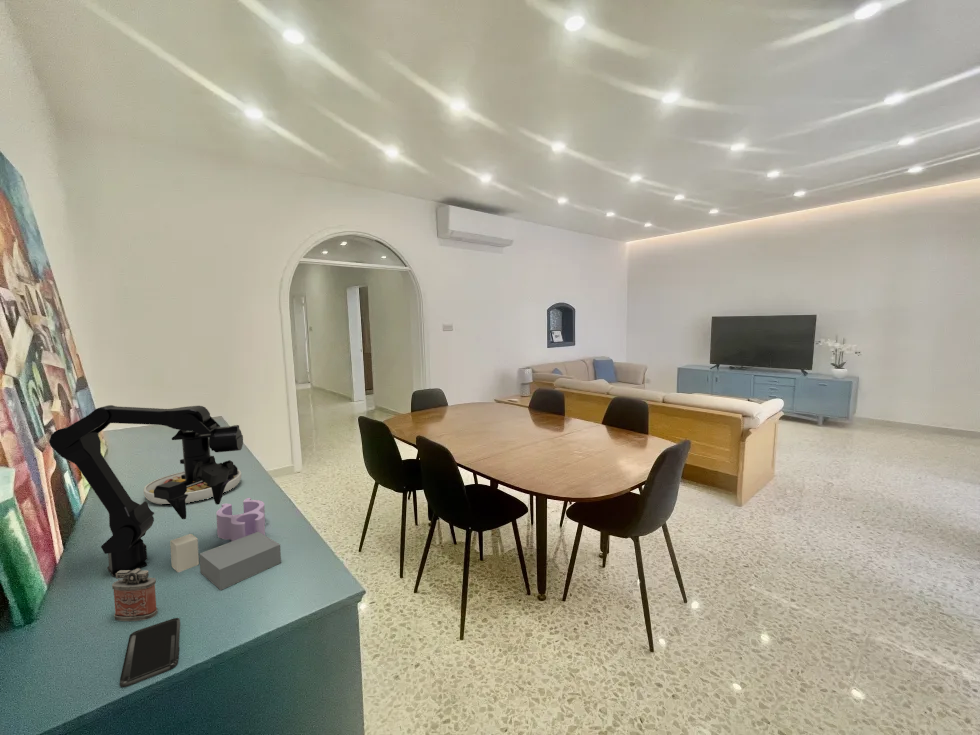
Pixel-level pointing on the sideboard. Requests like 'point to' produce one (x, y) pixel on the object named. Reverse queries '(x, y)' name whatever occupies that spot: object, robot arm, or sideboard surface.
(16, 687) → the sideboard surface
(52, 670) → the sideboard surface
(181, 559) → the block
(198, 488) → the bowl
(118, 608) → the lighter
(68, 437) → the robot arm
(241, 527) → the clip
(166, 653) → the phone
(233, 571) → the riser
